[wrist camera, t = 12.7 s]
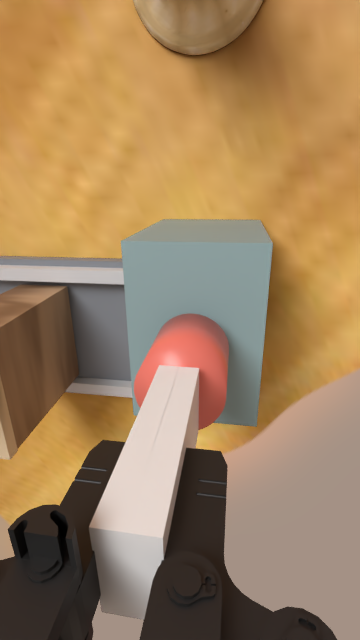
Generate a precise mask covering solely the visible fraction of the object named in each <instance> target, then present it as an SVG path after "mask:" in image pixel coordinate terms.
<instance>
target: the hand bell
mask: <svg viewBox="0 0 360 640" xmlns="http://www.w3.org/2000/svg"><path fill="white" fill-rule="evenodd" d="M133 2H134V5H135V8H136V10H137V12H138V14H139V17H140V18H141V20H142V22H143V24H144V26H145V27H146V28H147V30H148V31H149V32H150V33H151V35H152V36H153V37H154V38H156V39H157V40H158V41H159V42H160V43H161V44H163V45H164V46H165V47H167V48H169V49H171V50H173V51H176V52H179V53H183V54H187V55H200V54H207V53H210V52H213V51H216V50H218V49H220V48H223V47H224V46H226V45H227V44H229V43H230V42H232V41H233V40H235V39H236V38H237V37H238V36H239V35H240V34H241V33H242V32H243V31H244V30H245V29H246V28H247V27H248V25H249V24H250V23H251V21H252V20H253V18H254V17H255V15H256V13H257V11H258V10H259V8H260V6H261V4H262V2H263V0H133Z"/></svg>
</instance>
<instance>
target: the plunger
mask: <svg viewBox="0 0 360 640" xmlns="http://www.w3.org/2000/svg"><path fill="white" fill-rule="evenodd" d="M228 358H229V344H228V339H227V337H226V335H225V333H224V331H223V330H222V328H221V327H220V326H219V325H218V324H217V323H216V322H214V321H213V320H212V319H210V318H208V317H206V316H203V315H199V314H182V315H178V316H175V317H173V318H171V319H170V320H168V321H167V322H166V323H165V324H164V325H163V326H162V328H161V329H160V331H159V333H158V335H157V337H156V338H155V340H154V342H153V344H152V346H151V348H150V350H149V352H148V354H147V356H146V357H145V359H144V361H143V363H142V365H141V367H140V369H139V371H138V373H137V375H136V378H135V381H134V394H135V398H136V401H137V403H138V405H139V407H140V408H141V406H142V404H143V401H144V399H145V397H146V394H147V392H148V390H149V388H150V385H151V383H152V381H153V378H154V376H155V374H156V371H157V369H158V367H159V365H164V366H178V367H193V368H199V429H198V430H200V429H203V428H205V427H207V426H209V425H210V424H212V423H213V422H214V421H215V420H216V419H217V418H218V417H219V416H220V414H221V413H222V411H223V409H224V406H225V403H226V393H227V375H228Z"/></svg>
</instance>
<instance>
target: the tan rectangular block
mask: <svg viewBox="0 0 360 640" xmlns="http://www.w3.org/2000/svg"><path fill="white" fill-rule="evenodd" d="M78 375H79V368H78V361H77V354H76V346H75V339H74V332H73V324H72V317H71V310H70V302H69V295H68V288H67V286H50V285H22V284H21V285H19V286H17V287H14V288H12V289H10V290H8V291H6V292H4V293H2V294H0V459H8V460H10V459H11V458H12V457H13V456H14V455H15V453H16V452H17V451H18V448H19V447H20V445H21V444H22V443H23V442H24V441H25V439H26V438H27V437H28V436H29V435H30V433H31V432H32V431H33V430H34V428H35V427H36V426H37V425H38V424H39V422H40V421H41V420H42V419H43V418H44V416H45V415H46V414H47V413H48V411H49V410H50V409H51V408H52V407H53V405H54V404H55V403H56V402H57V401H58V399H59V398H60V397H61V396H62V395H63V393H64V392H65V391H66V390H67V388H68V387H69V386H70V385H71V384H72V382H73V381H74V380H75V379H76V378H77V376H78Z"/></svg>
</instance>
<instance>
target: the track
mask: <svg viewBox="0 0 360 640" xmlns="http://www.w3.org/2000/svg"><path fill="white" fill-rule="evenodd" d="M21 284H22V285H50V286H67V288H68V295H69V302H70V310H71V317H72V324H73V332H74V339H75V346H76V354H77V361H78V368H79V375H78V376H77V378H76V379H75V380H74V381H73V382H72V384H71V385H70V386H69V387H68V388H67V390H66V391H65V392H70V393H82V394H94V395H106V396H118V397H130V398H132V385H131V371H130V357H129V344H128V330H127V316H126V303H125V289H124V275H123V262H122V259H110V258H66V257H22V256H0V294H2V293H4V292H6V291H8V290H10V289H12V288H14V287H17V286H19V285H21Z"/></svg>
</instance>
